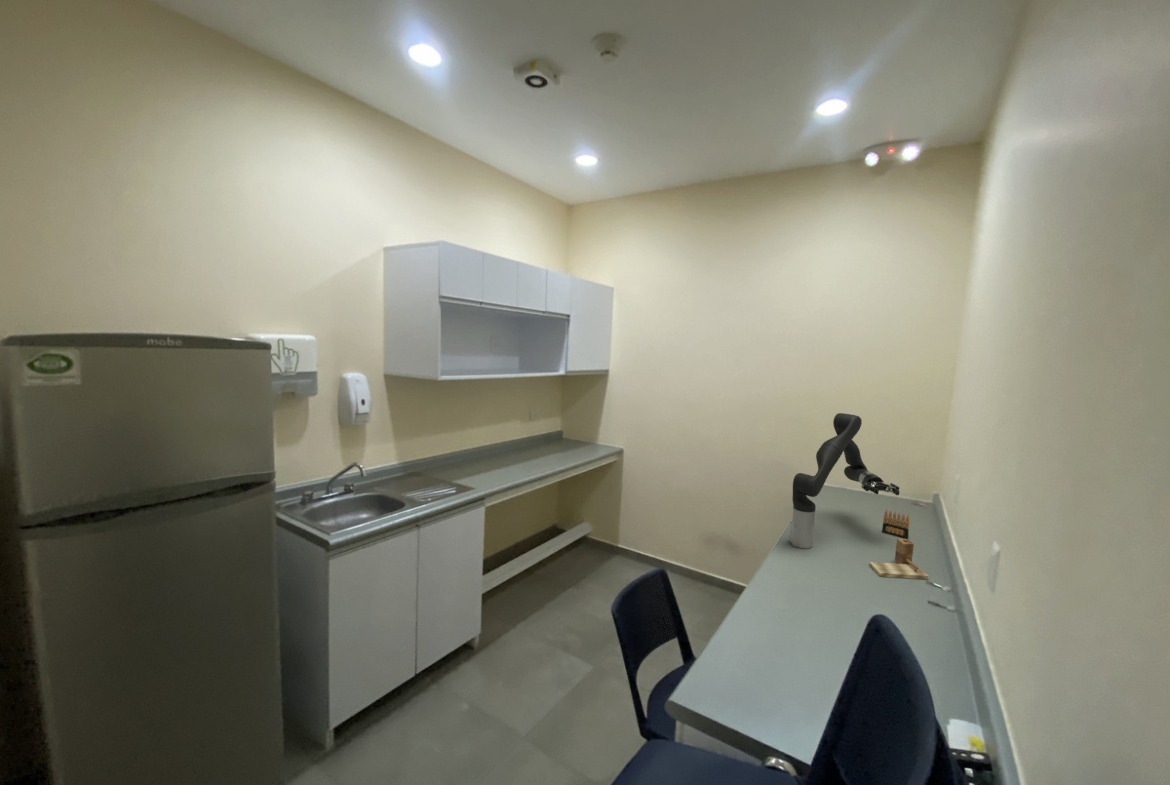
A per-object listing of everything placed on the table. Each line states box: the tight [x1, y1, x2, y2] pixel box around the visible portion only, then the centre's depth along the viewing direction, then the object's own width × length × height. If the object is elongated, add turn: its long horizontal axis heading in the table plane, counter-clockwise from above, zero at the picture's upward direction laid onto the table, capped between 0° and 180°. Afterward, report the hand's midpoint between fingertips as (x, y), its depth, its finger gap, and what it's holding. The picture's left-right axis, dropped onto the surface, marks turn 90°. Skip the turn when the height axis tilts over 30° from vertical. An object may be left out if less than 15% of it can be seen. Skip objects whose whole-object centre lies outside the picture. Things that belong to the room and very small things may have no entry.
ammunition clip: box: [881, 508, 910, 540], centre depth 225 cm, size 11×2×12 cm, turn 46°
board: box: [868, 561, 929, 581], centre depth 191 cm, size 18×9×2 cm, turn 83°
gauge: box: [894, 537, 920, 571], centre depth 194 cm, size 4×12×11 cm, turn 173°
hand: (887, 492), depth 210 cm, fingers open, 8 cm apart
